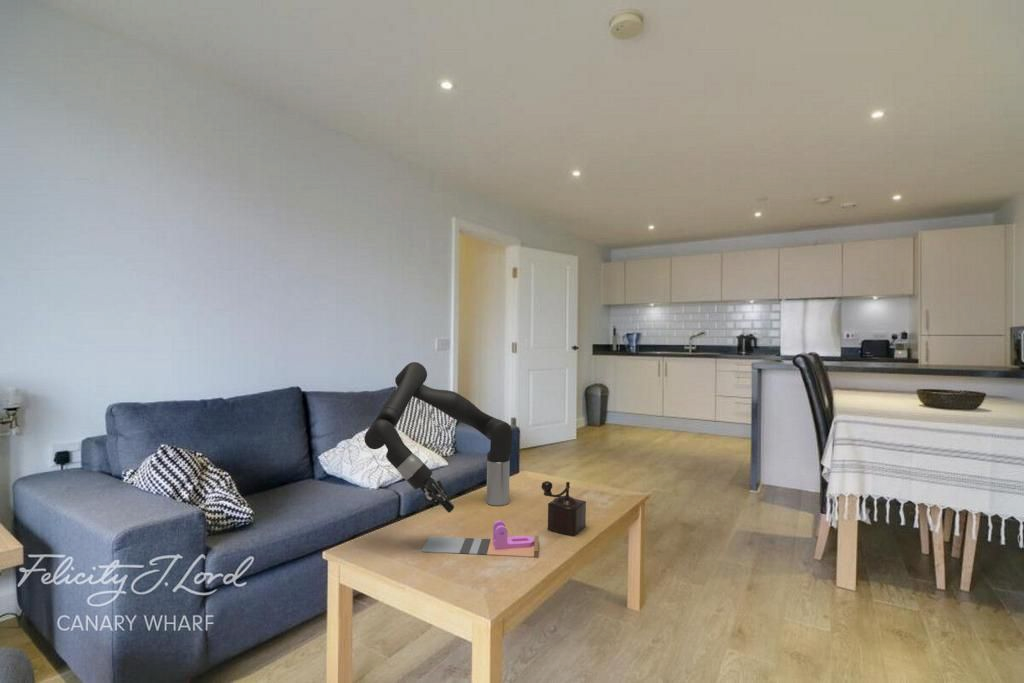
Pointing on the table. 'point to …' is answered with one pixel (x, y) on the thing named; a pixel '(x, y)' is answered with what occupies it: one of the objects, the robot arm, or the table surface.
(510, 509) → the table surface
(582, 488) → the table surface
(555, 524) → the manual coffee grinder
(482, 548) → the lane
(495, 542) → the bracket
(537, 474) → the table surface
